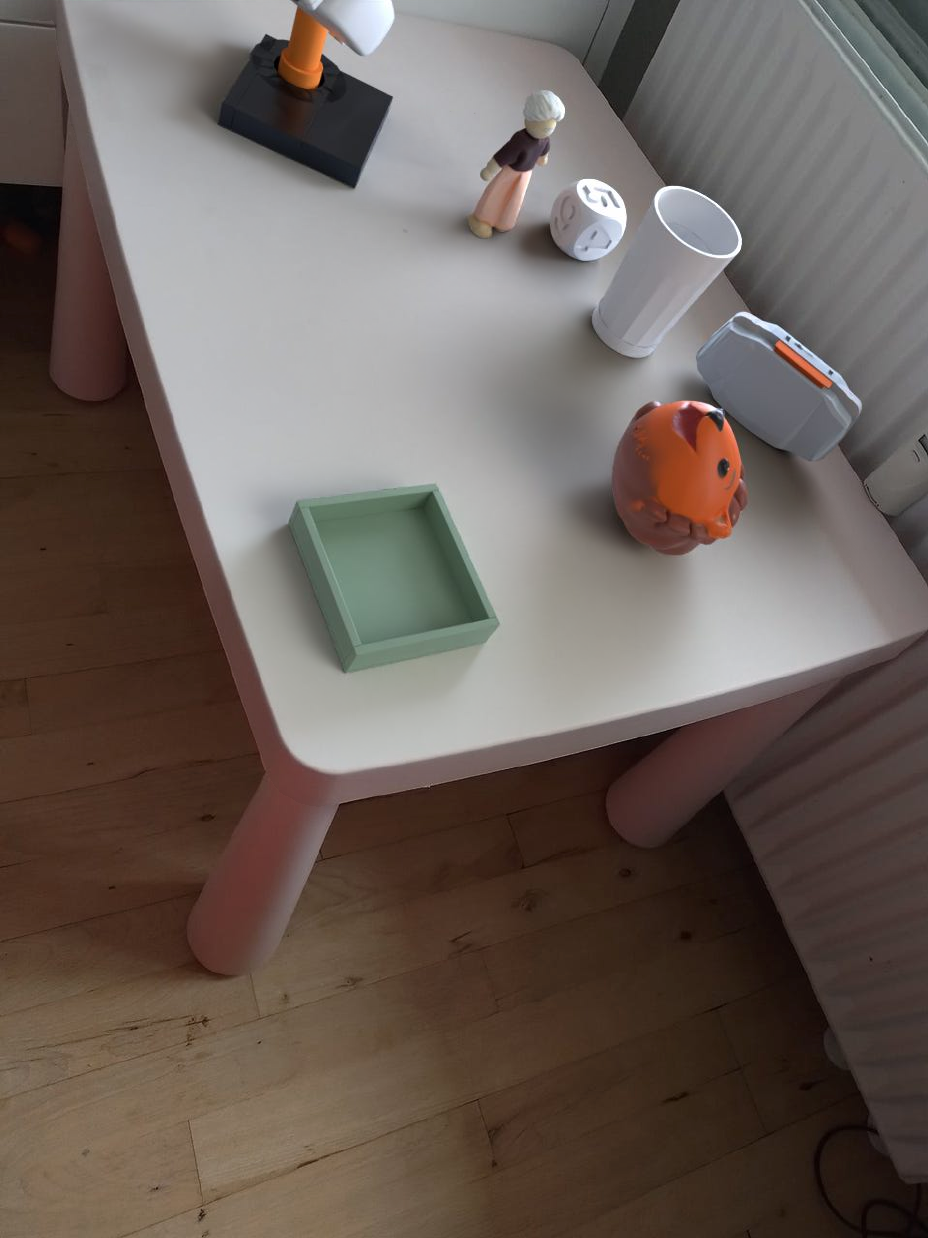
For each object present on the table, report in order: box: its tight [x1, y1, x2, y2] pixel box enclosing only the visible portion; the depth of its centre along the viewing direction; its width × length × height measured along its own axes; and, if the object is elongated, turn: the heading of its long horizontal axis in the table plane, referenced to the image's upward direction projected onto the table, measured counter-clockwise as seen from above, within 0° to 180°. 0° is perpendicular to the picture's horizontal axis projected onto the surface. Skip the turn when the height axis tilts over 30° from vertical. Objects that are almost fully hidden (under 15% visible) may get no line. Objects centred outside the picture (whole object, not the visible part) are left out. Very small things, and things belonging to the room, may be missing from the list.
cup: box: [591, 185, 742, 359], centre depth 82 cm, size 8×8×12 cm
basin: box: [287, 483, 501, 674], centre depth 63 cm, size 11×10×2 cm
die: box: [549, 178, 627, 262], centre depth 88 cm, size 5×5×5 cm
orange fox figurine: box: [611, 400, 749, 557], centre depth 71 cm, size 12×10×11 cm
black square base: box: [217, 33, 394, 189], centre depth 84 cm, size 12×13×2 cm
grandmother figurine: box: [466, 89, 566, 239], centre depth 82 cm, size 8×4×13 cm, turn 143°
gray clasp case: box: [695, 311, 863, 463], centre depth 84 cm, size 14×3×8 cm, turn 56°
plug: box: [277, 5, 329, 89], centre depth 81 cm, size 4×4×12 cm
